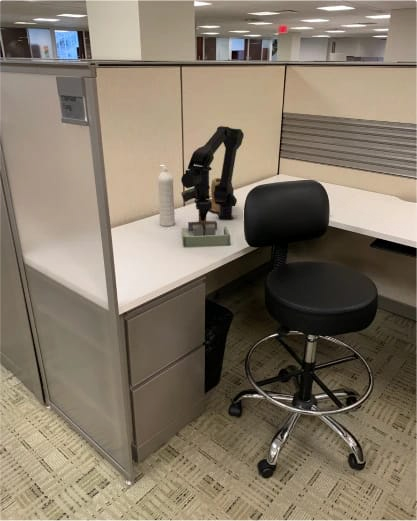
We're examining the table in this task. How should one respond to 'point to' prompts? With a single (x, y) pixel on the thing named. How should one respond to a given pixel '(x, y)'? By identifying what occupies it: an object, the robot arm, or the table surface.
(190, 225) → the hoe
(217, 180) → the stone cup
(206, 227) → the stone block
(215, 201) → the robot arm
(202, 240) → the bin
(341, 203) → the table surface
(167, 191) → the white pump bottle
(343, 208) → the table surface
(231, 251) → the table surface
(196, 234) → the stone block
